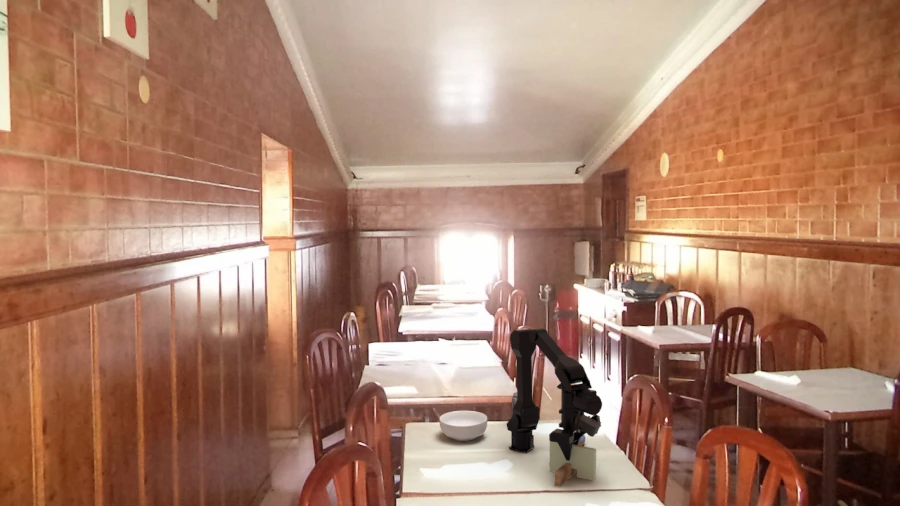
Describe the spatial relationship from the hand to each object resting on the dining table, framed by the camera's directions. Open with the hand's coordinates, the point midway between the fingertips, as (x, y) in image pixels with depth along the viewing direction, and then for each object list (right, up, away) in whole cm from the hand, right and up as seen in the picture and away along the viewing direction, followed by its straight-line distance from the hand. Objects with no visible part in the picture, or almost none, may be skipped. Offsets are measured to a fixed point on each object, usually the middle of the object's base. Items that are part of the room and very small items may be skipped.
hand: (570, 457), depth 194 cm
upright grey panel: (0, -5, 0) cm, 5 cm away
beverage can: (-10, -3, +44) cm, 46 cm away
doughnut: (+5, -4, +27) cm, 27 cm away
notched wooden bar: (0, -5, 0) cm, 5 cm away
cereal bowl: (-31, -4, +33) cm, 46 cm away
